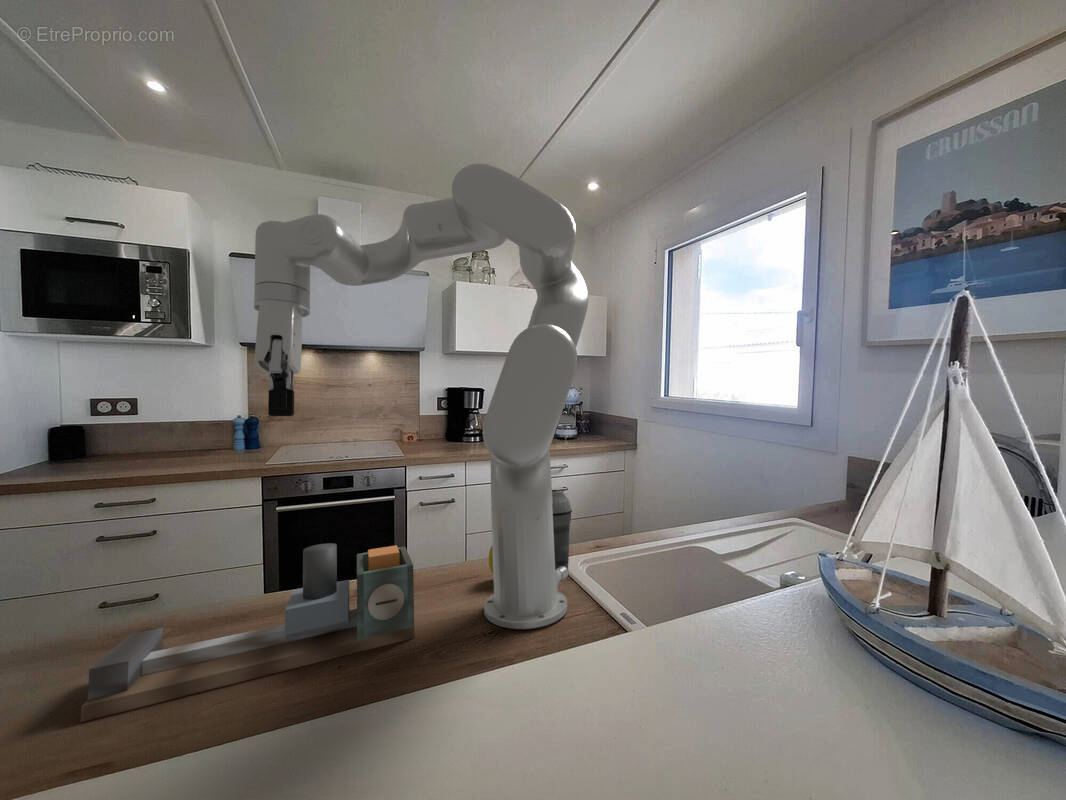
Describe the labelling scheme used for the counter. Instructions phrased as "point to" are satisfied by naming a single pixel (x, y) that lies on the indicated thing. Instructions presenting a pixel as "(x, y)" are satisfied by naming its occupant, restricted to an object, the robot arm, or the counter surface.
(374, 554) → the orange block
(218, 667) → the rail base
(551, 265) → the robot arm
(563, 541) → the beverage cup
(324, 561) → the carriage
